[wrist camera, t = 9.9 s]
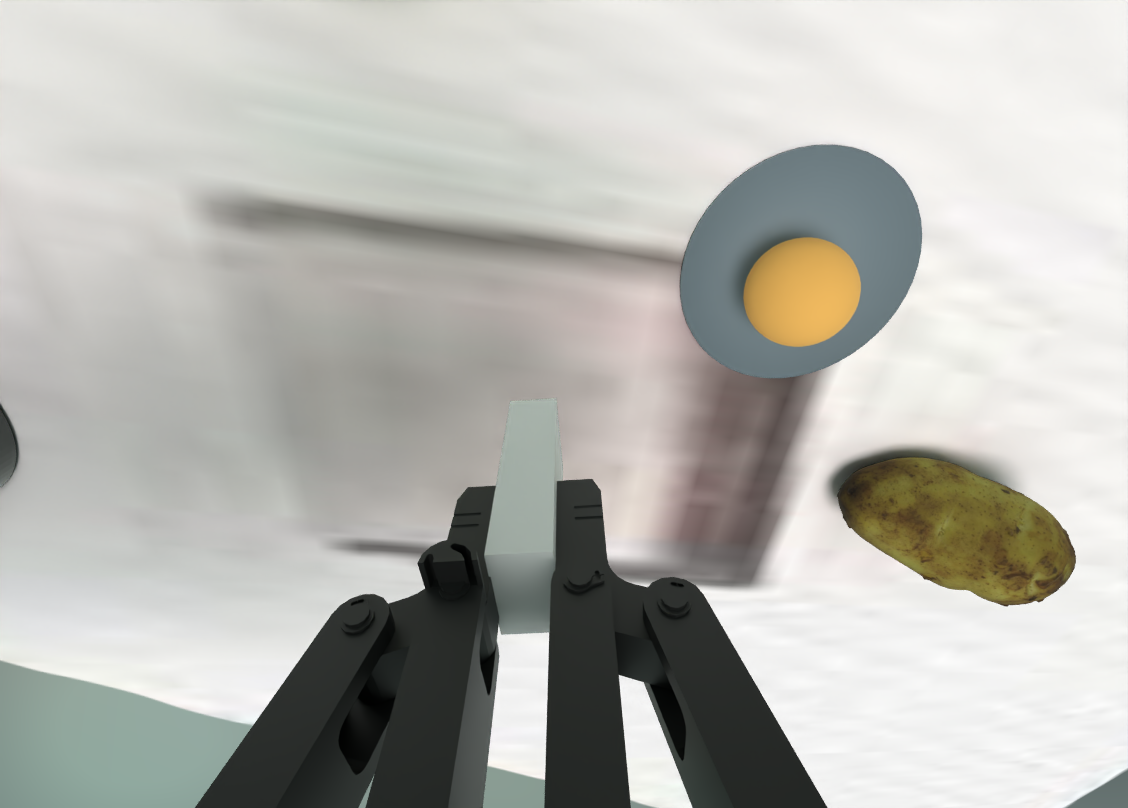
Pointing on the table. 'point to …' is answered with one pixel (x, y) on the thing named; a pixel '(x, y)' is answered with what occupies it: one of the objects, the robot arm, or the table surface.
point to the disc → (788, 211)
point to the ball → (802, 292)
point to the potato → (959, 529)
